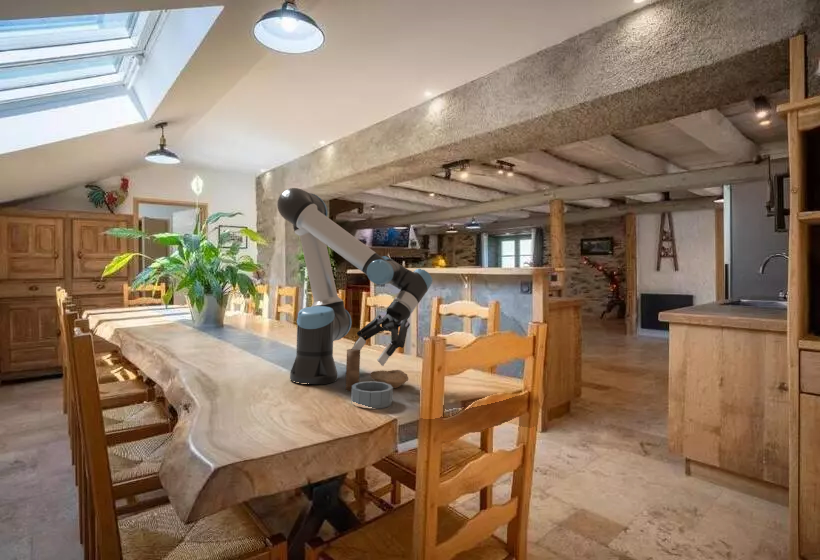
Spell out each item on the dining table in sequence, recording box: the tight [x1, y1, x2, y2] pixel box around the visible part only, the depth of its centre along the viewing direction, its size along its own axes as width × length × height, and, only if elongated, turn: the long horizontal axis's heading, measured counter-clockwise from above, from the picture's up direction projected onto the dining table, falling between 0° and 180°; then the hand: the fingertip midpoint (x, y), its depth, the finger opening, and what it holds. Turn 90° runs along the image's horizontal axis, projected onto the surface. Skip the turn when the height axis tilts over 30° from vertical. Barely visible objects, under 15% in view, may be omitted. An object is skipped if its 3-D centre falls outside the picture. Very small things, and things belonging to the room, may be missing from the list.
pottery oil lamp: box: [370, 369, 409, 389], centre depth 138 cm, size 9×12×7 cm
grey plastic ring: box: [350, 380, 394, 410], centre depth 119 cm, size 11×11×4 cm
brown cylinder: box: [345, 348, 361, 392], centre depth 131 cm, size 4×4×12 cm
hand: (365, 359), depth 133 cm, fingers open, 13 cm apart
